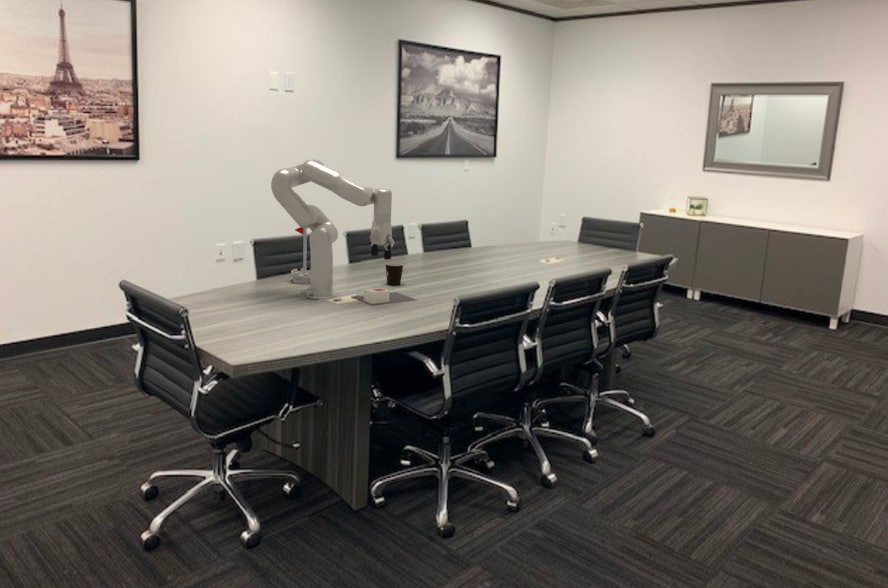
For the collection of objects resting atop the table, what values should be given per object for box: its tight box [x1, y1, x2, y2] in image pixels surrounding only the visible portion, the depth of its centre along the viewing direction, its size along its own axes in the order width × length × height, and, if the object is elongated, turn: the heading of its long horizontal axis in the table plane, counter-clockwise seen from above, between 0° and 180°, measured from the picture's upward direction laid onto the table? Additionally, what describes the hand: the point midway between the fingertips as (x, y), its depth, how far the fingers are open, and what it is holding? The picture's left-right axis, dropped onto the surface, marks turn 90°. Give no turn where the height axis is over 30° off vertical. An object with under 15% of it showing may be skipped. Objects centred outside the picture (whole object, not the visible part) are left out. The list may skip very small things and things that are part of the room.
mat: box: [350, 291, 417, 307], centre depth 321 cm, size 24×18×1 cm
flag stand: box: [290, 226, 311, 285], centre depth 347 cm, size 13×13×30 cm
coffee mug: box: [385, 262, 404, 287], centre depth 354 cm, size 12×9×10 cm
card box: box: [363, 287, 391, 304], centre depth 314 cm, size 9×6×5 cm
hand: (381, 257), depth 314 cm, fingers open, 9 cm apart
